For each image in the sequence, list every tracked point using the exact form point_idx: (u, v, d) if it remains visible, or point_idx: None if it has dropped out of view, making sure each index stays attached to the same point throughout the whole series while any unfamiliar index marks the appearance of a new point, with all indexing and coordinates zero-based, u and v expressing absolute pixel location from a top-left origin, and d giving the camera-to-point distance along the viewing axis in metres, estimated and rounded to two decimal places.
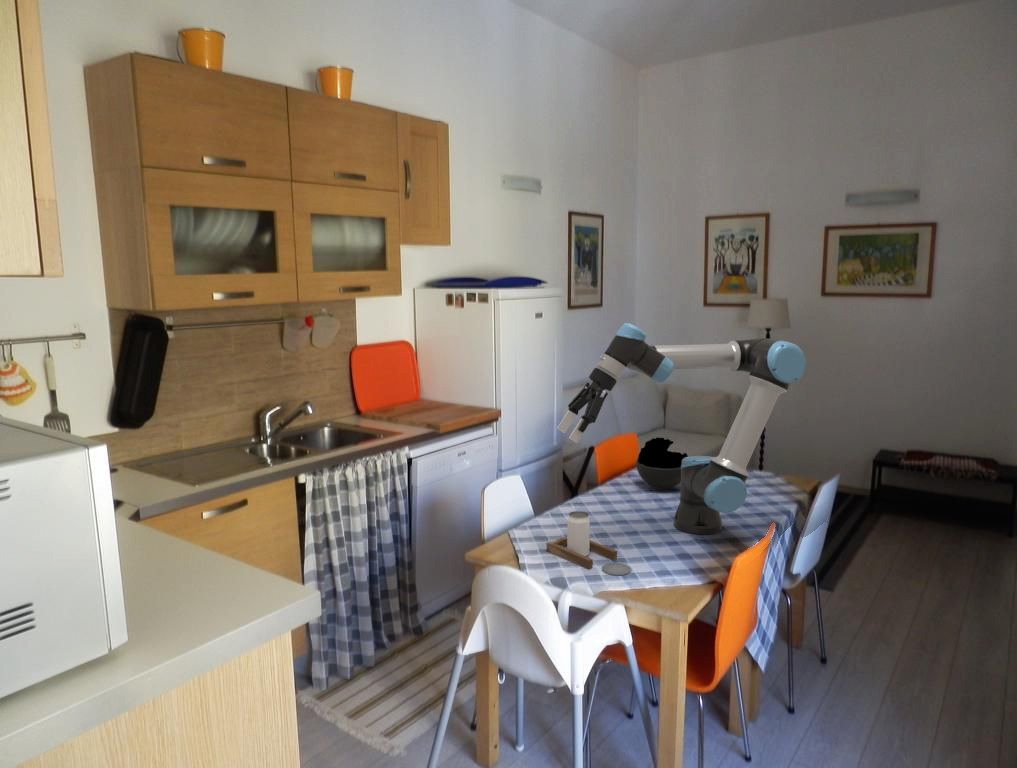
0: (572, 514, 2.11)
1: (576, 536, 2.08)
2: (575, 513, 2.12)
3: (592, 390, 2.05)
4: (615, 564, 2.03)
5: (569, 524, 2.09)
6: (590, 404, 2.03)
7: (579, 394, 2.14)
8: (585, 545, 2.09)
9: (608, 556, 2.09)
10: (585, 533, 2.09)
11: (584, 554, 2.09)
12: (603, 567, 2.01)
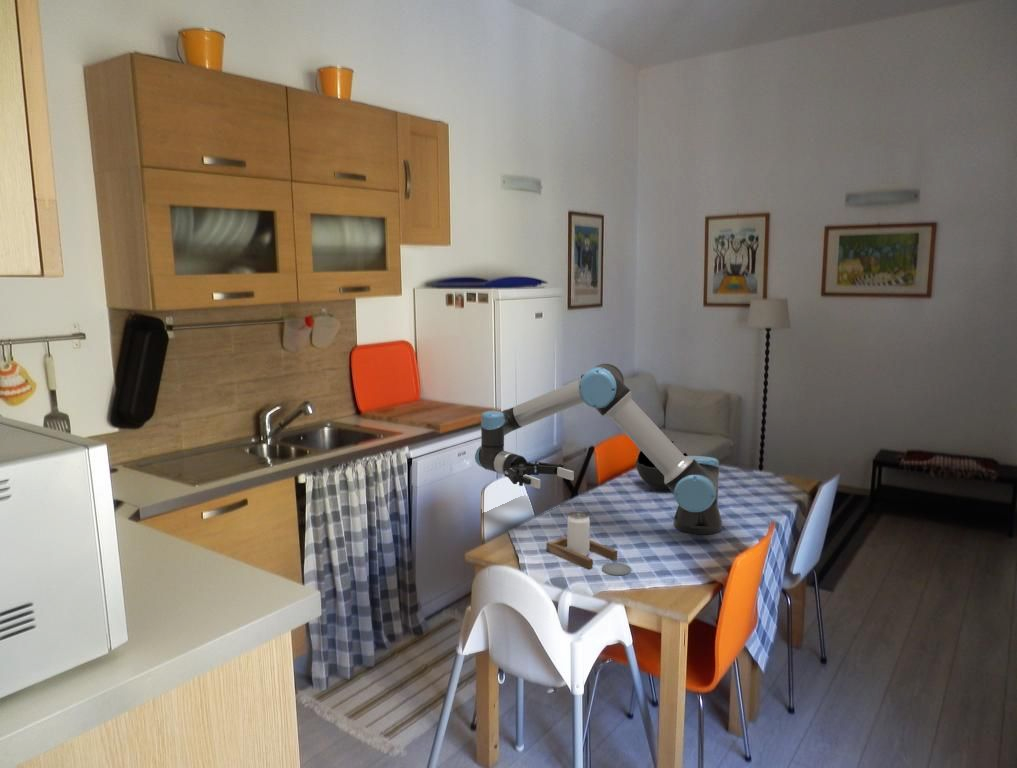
0: (572, 514, 2.11)
1: (576, 536, 2.08)
2: (575, 513, 2.12)
3: None
4: (615, 564, 2.03)
5: (569, 524, 2.09)
6: None
7: None
8: (585, 545, 2.09)
9: (608, 556, 2.09)
10: (585, 533, 2.09)
11: (584, 554, 2.09)
12: (603, 567, 2.01)
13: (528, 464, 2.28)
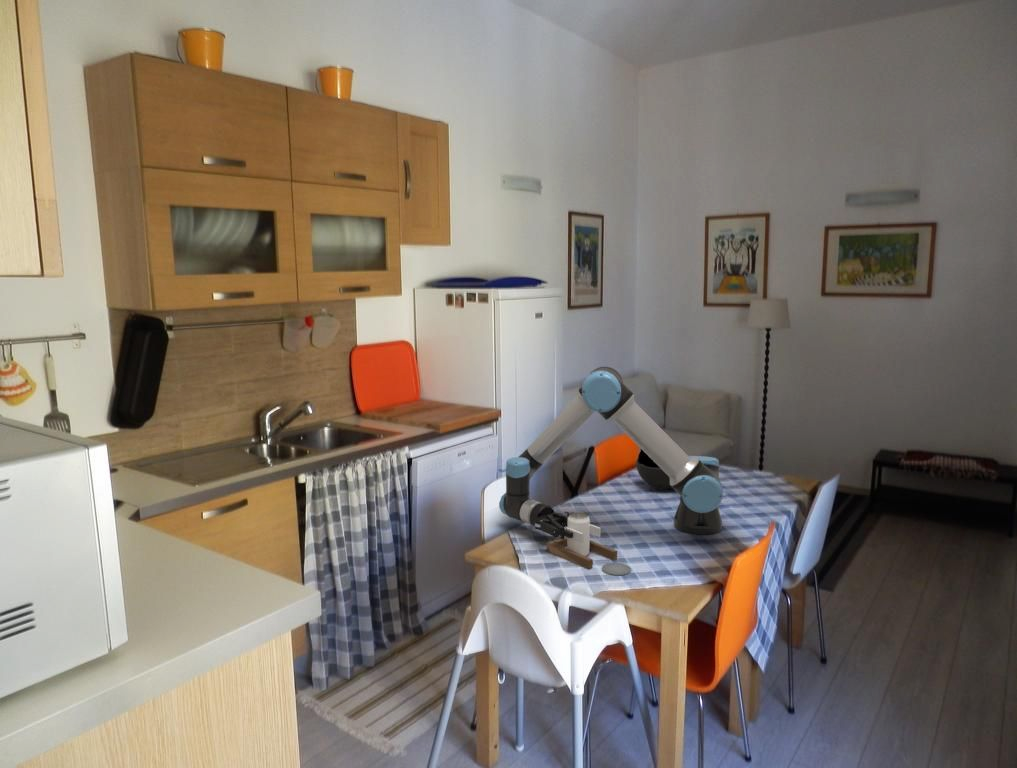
0: (572, 514, 2.11)
1: None
2: (575, 513, 2.12)
3: None
4: (615, 564, 2.03)
5: (569, 524, 2.09)
6: None
7: None
8: (585, 545, 2.09)
9: (608, 556, 2.09)
10: (585, 533, 2.09)
11: (584, 554, 2.09)
12: (603, 567, 2.01)
13: (555, 515, 2.20)
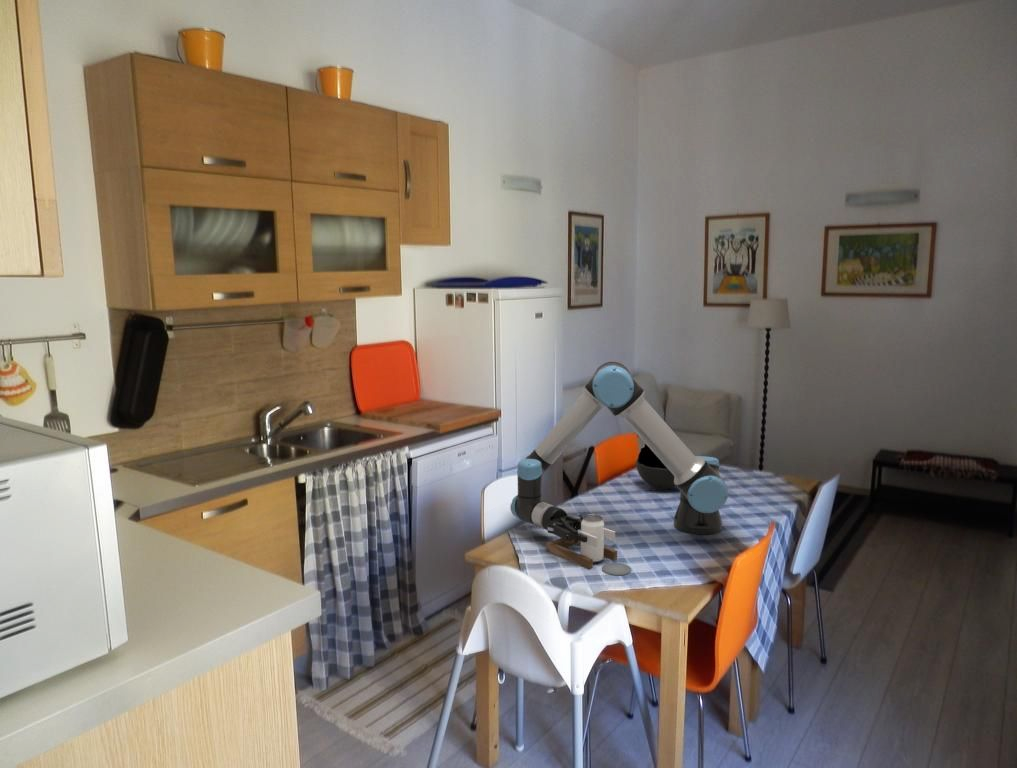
0: (586, 517, 2.06)
1: None
2: (589, 516, 2.07)
3: None
4: (615, 564, 2.03)
5: (583, 528, 2.04)
6: (567, 533, 2.09)
7: None
8: (599, 549, 2.04)
9: (608, 556, 2.09)
10: (600, 537, 2.03)
11: (598, 558, 2.04)
12: (603, 567, 2.01)
13: (568, 518, 2.15)
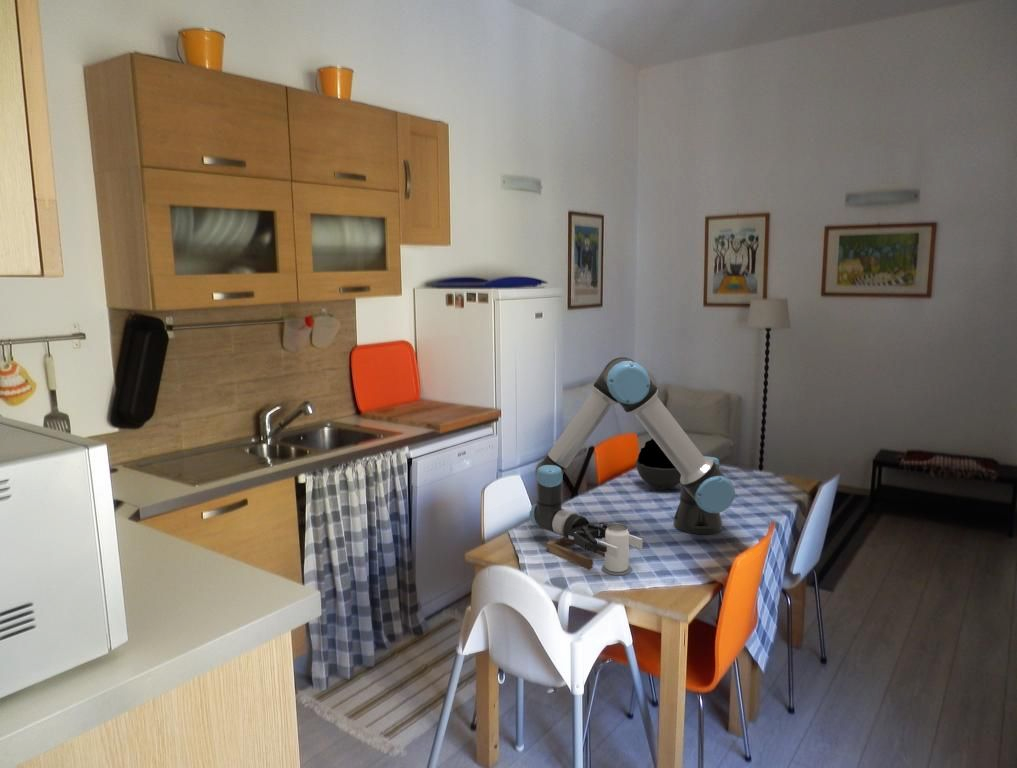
0: (610, 526, 2.00)
1: None
2: (613, 525, 2.01)
3: None
4: None
5: (607, 537, 1.98)
6: None
7: None
8: (624, 559, 1.98)
9: None
10: (625, 547, 1.97)
11: (623, 569, 1.98)
12: (603, 567, 2.01)
13: (591, 526, 2.08)
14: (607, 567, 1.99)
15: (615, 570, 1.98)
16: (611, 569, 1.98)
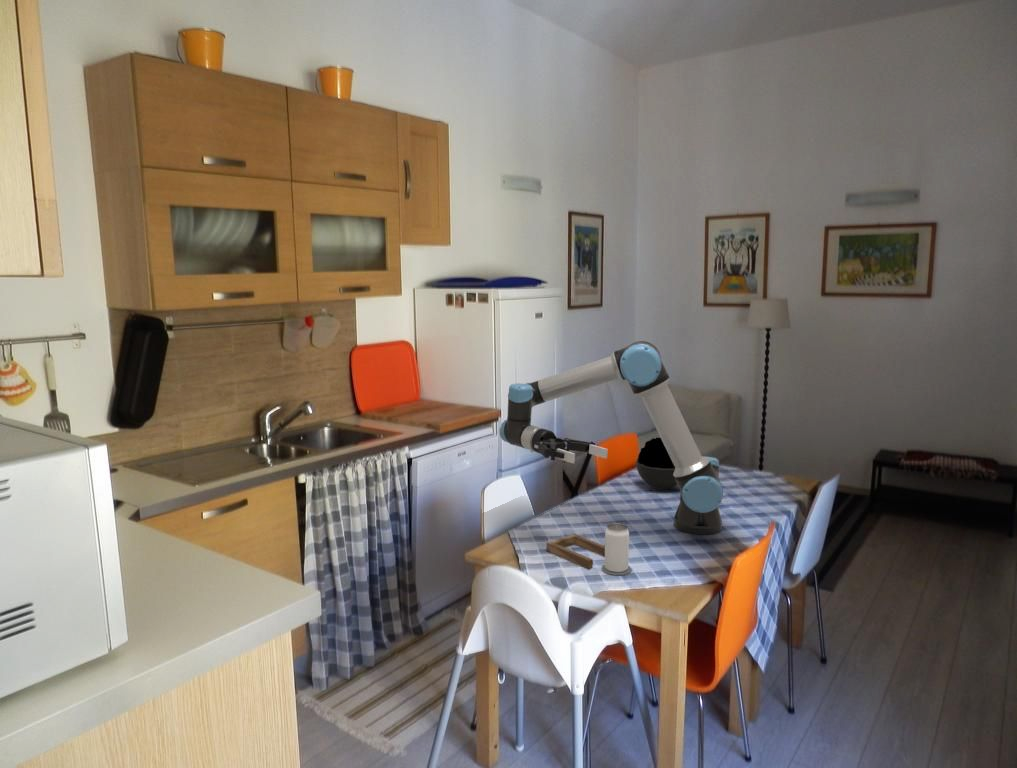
0: (610, 526, 2.00)
1: (615, 550, 1.97)
2: (613, 525, 2.01)
3: None
4: None
5: (607, 537, 1.98)
6: None
7: None
8: (624, 559, 1.98)
9: None
10: (625, 547, 1.97)
11: (623, 569, 1.98)
12: (603, 567, 2.01)
13: (558, 440, 2.17)
14: (607, 567, 1.99)
15: (615, 570, 1.98)
16: (611, 569, 1.98)
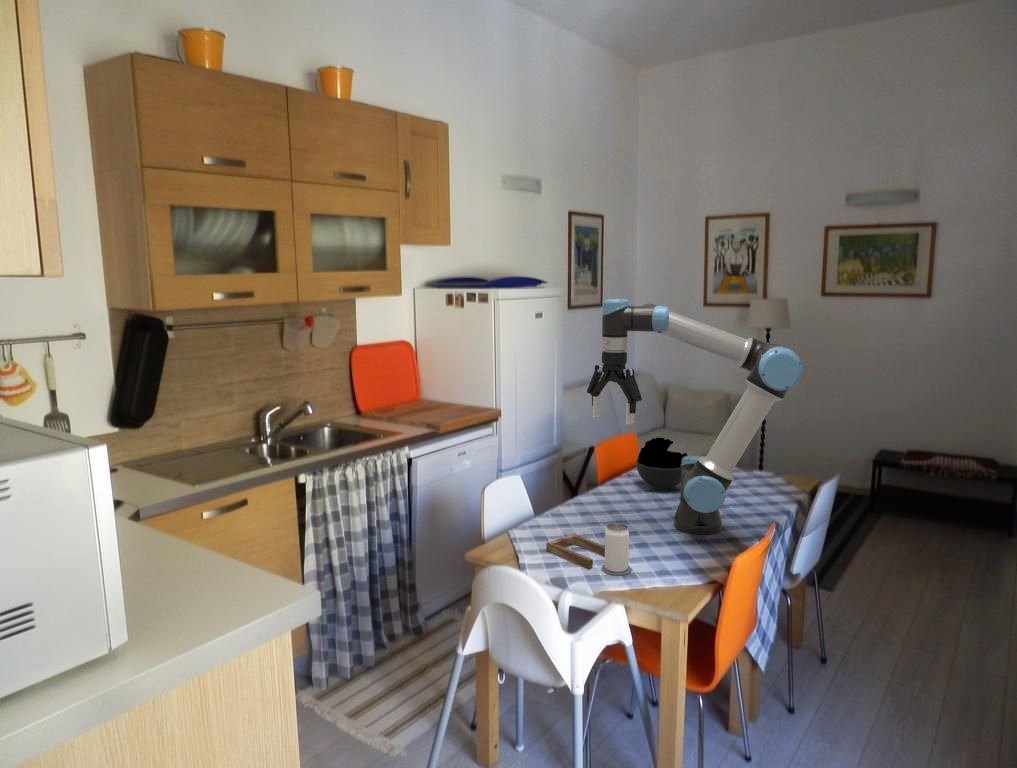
0: (610, 526, 2.00)
1: (615, 550, 1.97)
2: (613, 525, 2.01)
3: (615, 373, 2.16)
4: None
5: (607, 537, 1.98)
6: (624, 386, 2.15)
7: (594, 378, 2.24)
8: (624, 559, 1.98)
9: None
10: (625, 547, 1.97)
11: (623, 569, 1.98)
12: (603, 567, 2.01)
13: None
14: (607, 567, 1.99)
15: (615, 570, 1.98)
16: (611, 569, 1.98)
